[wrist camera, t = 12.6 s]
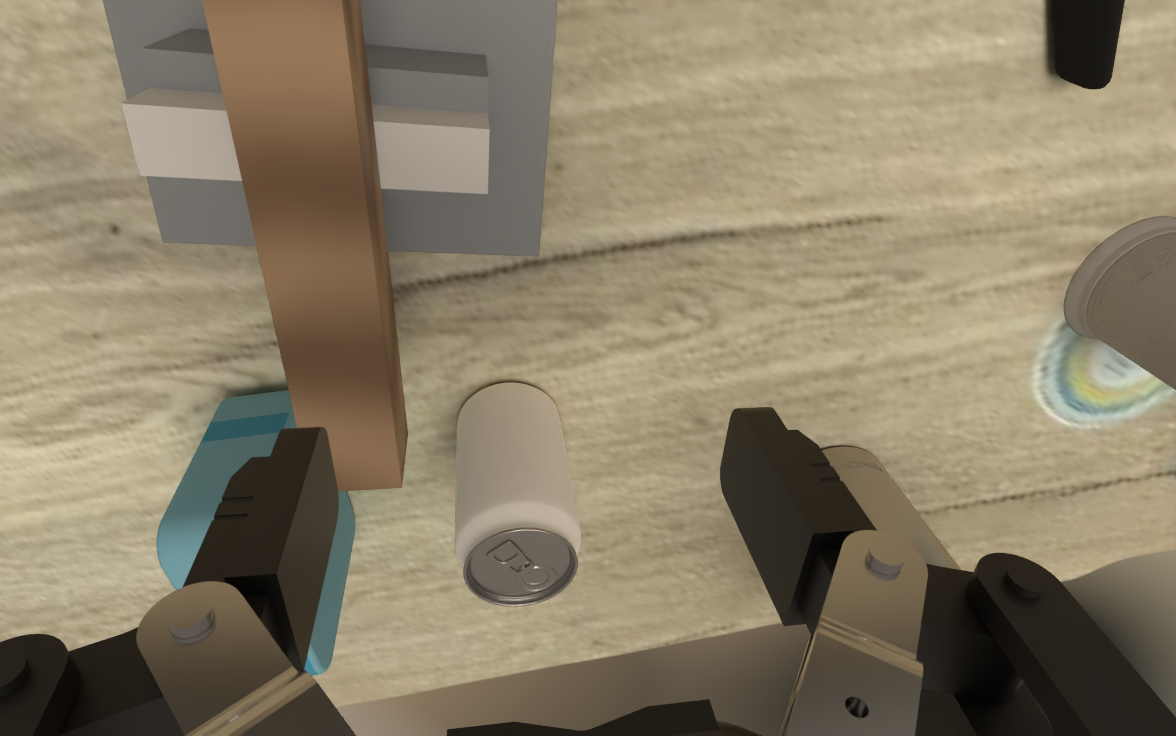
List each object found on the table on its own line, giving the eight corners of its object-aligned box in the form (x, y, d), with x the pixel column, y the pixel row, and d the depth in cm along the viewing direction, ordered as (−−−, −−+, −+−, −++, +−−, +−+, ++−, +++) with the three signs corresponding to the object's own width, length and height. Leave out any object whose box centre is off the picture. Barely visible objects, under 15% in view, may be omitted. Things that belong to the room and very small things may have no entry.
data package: (226, 386, 39) (144, 546, 29) (307, 376, 39) (253, 530, 29) (289, 531, 46) (240, 701, 36) (358, 520, 46) (328, 686, 36)
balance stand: (536, 245, 37) (554, 327, 29) (174, 230, 34) (91, 319, 26) (557, -58, 29) (588, -49, 22) (92, -115, 26) (-56, -126, 19)
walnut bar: (166, -389, 17) (100, -455, 14) (319, -369, 17) (289, -428, 14) (326, 437, 31) (311, 493, 28) (407, 433, 31) (401, 487, 28)
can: (501, 474, 46) (511, 628, 36) (435, 417, 42) (425, 570, 32) (578, 423, 44) (611, 569, 34) (516, 359, 41) (533, 502, 31)
